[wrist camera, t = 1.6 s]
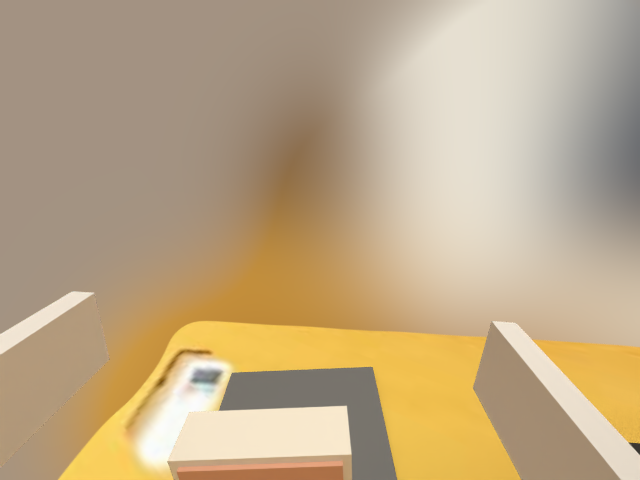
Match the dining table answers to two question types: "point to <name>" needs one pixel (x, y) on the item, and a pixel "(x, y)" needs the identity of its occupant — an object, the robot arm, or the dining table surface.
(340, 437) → the tile
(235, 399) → the mat
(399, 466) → the dining table surface
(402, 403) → the dining table surface
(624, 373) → the dining table surface
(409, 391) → the dining table surface
